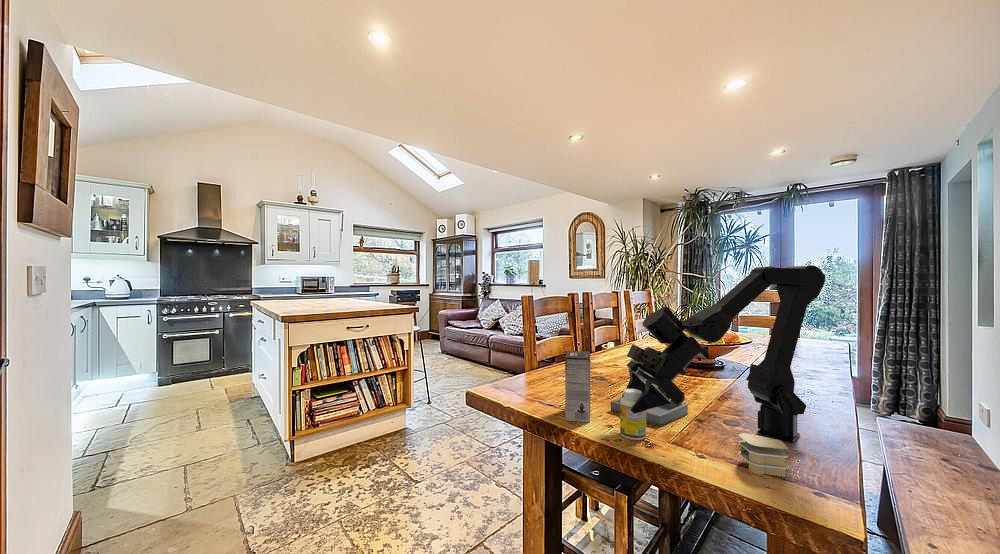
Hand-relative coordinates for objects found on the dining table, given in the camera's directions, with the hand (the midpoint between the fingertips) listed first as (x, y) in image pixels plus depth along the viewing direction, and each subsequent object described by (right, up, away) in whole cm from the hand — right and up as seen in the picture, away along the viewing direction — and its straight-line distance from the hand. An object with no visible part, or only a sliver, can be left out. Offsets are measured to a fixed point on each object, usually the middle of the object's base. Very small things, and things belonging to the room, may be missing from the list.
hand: (626, 406), depth 83 cm
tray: (+11, -7, +15) cm, 20 cm away
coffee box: (-8, -7, +13) cm, 17 cm away
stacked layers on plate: (+20, -7, -14) cm, 26 cm away
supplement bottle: (+1, -7, 0) cm, 7 cm away
